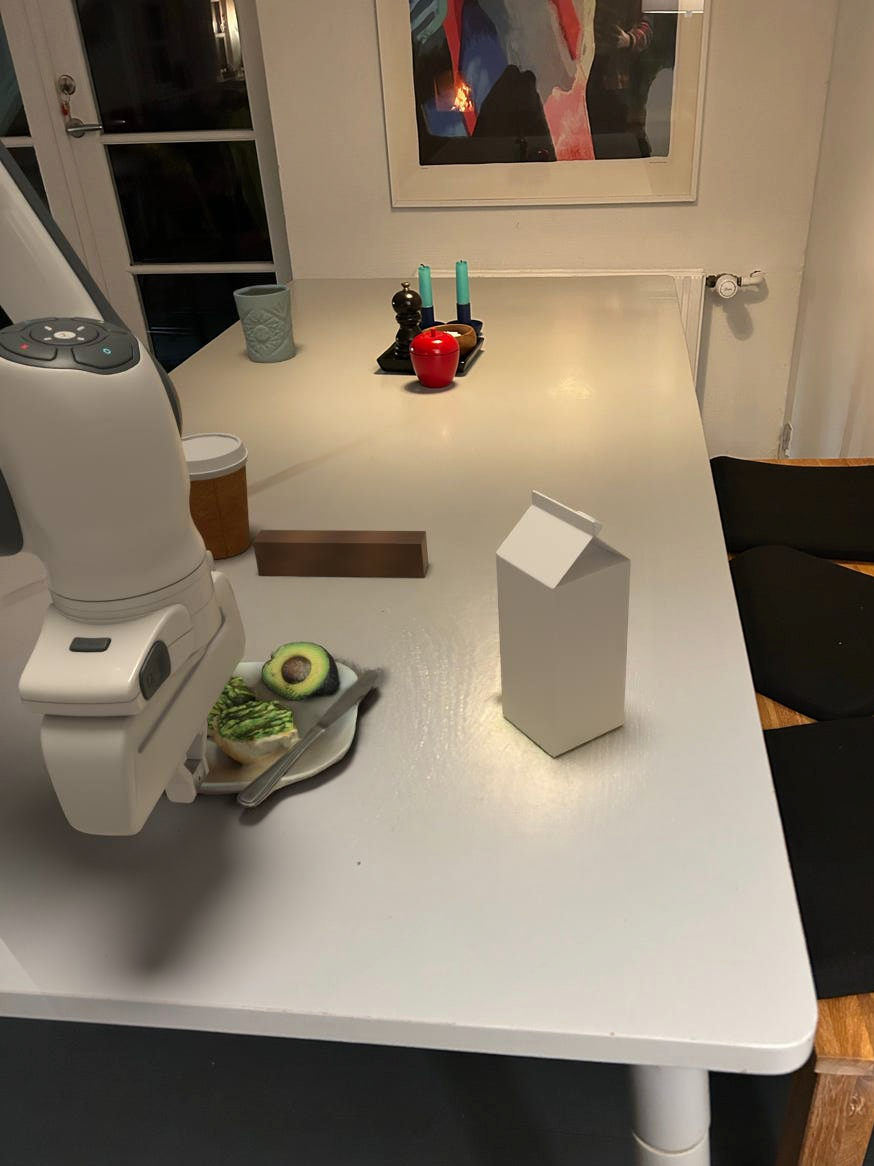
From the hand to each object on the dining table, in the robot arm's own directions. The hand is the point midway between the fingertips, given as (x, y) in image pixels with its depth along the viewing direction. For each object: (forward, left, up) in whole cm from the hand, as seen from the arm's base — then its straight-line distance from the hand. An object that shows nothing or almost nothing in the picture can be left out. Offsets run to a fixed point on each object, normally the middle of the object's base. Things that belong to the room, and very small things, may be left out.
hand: (189, 788), depth 63 cm
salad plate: (-7, +12, -6) cm, 16 cm away
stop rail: (-21, +36, -6) cm, 43 cm away
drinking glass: (-93, +93, -6) cm, 132 cm away
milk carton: (+13, +26, -6) cm, 30 cm away
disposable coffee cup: (-37, +33, -6) cm, 50 cm away
